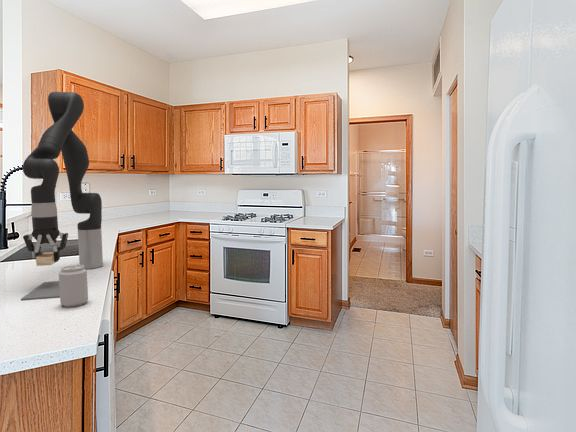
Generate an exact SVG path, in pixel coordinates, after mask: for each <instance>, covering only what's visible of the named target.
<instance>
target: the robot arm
mask: <svg viewBox="0 0 576 432" xmlns="http://www.w3.org/2000/svg"><path fill="white" fill-rule="evenodd" d="M47 102H48V107H49V112H50V115H51V118H52V120H53V123H52V125H50V126H49V127H48V128H47V129H45V131H44V132H43V133H42V135H41V137H40V139H39V142H38V143H37V146H36V148H34V149H33V150H32V151H31V153H30V154H29V155H28V156H27V157H26V158H25V160H24V161H23V163H22V173H23V175H24V176H26V177H27V178H28V179H33V180H34V179H35V180H37V179H38V180H42V182H41V184H39V185H35V186H32V187H31V189H30V198H31V211H30V212H31V213H30V214H31V224H32V231H31V233H30V234H24V235H23V236H22V239H23V240H24V242H25V246H26V248H27V250H28V252H31V253H34V256H35V258H36V257H37V256H38V255H42V254H43V253H42V251H41V250H42V247H43V246H44V244H50V247H51V248H52V250H53V252H54V262H55V263H57V262H59V261H60V260H61V251H63V250H64V249H66V246H67V242H68V238H69V233H67V232H66V233H64V232H60V230H59V223H58V222H59V221H58V208H57V203H56V202H57V201H56V187H57V182H58V179H59V174H60V167H59V164H58V163H57V161H56V159H58V157H59V156H60V155H61V156H62V159H63V163H64V168H65V171H66V176H67V181H68V188H69V196H70V204H71V207H72V210H73V211H74V213H76V214H89V217H88V218H87V219H85V220H82V221H80V222H78V223H77V241H78V243H77V245H78V260H79V261H78V262H79V263H78V265H83V266H84V268H85V269H86V270H89V269H98V268H102V267H103V266H104V262H103V261H104V258H103V238H102V237H103V236H102V234H103V233H102V221H103V220H102V217H103V212H102V210H103V205H102V198H101V195H100V194H99V193H98V192H83V191H82V190H83V189H82V183H83V182H82V181H83V178H84V177H85V175H86V173H87V171H88V168H89V166H90V159H89V158H90V157H89V154H88V150H87V147H86V145H85V144H84V143H83V141H82V139H80V138H79V137H78V135H77V134H76V133H75V132H74V131H73V128H74V127H75V125H76V124H77V123H78V120H79V119H80V117H82V114H83V112H84V109H85V104H84V100H83V98H82V96H81V95H80V94H79V93H77V92H73V91H72V92H71V91H51V92H49V94H48V97H47ZM33 238H34V240H36V242H35V245H34V242H33V241H32V240H33ZM58 238H59V239H60V240H61V241H60V243H59V242H58V240H57V239H58Z"/></svg>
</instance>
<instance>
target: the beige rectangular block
mask: <svg viewBox="0 0 576 432" xmlns="http://www.w3.org/2000/svg"><path fill="white" fill-rule="evenodd" d="M35 262H36V263H35V264H36V267H41V266H43V267H44V266H52V265H54V264H55V263H56V262H54V251H52V252H49V251H48V252H43V253H42V255H38V256H37V257H35Z"/></svg>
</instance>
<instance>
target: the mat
mask: <svg viewBox="0 0 576 432" xmlns="http://www.w3.org/2000/svg"><path fill="white" fill-rule="evenodd" d="M55 298H59V299H60V287H59V280H53V281H44V282H42V283H41V284H40V285H38V286H37V287H35V288H34V289H33V290H32V291H29V292H28V293H27V294H25V295H24V296H23V297H22V298H20V300H21V301H31V300H42V299H43V300H46V299H55Z"/></svg>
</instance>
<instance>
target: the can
mask: <svg viewBox="0 0 576 432" xmlns="http://www.w3.org/2000/svg"><path fill="white" fill-rule="evenodd" d="M87 270H88V269H85V268H84V266H83V265H80V264H71V265H66V266H63V267H61V268H60V271H59V273H58V281H59V287H60V297H59V301H60V302H59V303H60V304H61V305H62V306H63V307H66V308H75V307H79V306H82V305H84V304H85V303H86V302H87V301H89V291H88V289H89V288H88V271H87Z"/></svg>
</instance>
